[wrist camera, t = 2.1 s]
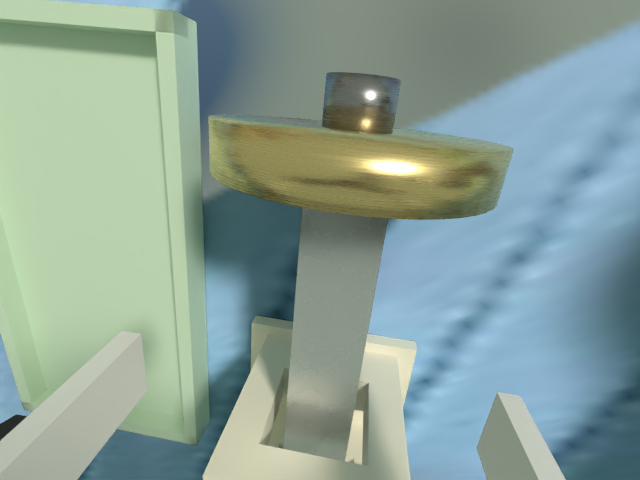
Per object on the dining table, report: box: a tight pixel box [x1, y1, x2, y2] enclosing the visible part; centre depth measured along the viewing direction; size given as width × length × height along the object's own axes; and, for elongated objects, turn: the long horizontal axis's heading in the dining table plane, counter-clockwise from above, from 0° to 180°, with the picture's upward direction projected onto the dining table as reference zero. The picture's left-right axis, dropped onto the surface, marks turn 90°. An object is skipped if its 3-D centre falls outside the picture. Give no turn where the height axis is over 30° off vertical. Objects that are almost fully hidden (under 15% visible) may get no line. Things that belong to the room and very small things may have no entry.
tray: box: [0, 0, 210, 446], centre depth 25 cm, size 16×31×2 cm, turn 175°
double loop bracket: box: [203, 316, 417, 480], centre depth 22 cm, size 11×12×12 cm
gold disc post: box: [209, 72, 513, 461], centre depth 19 cm, size 28×12×12 cm, turn 175°
